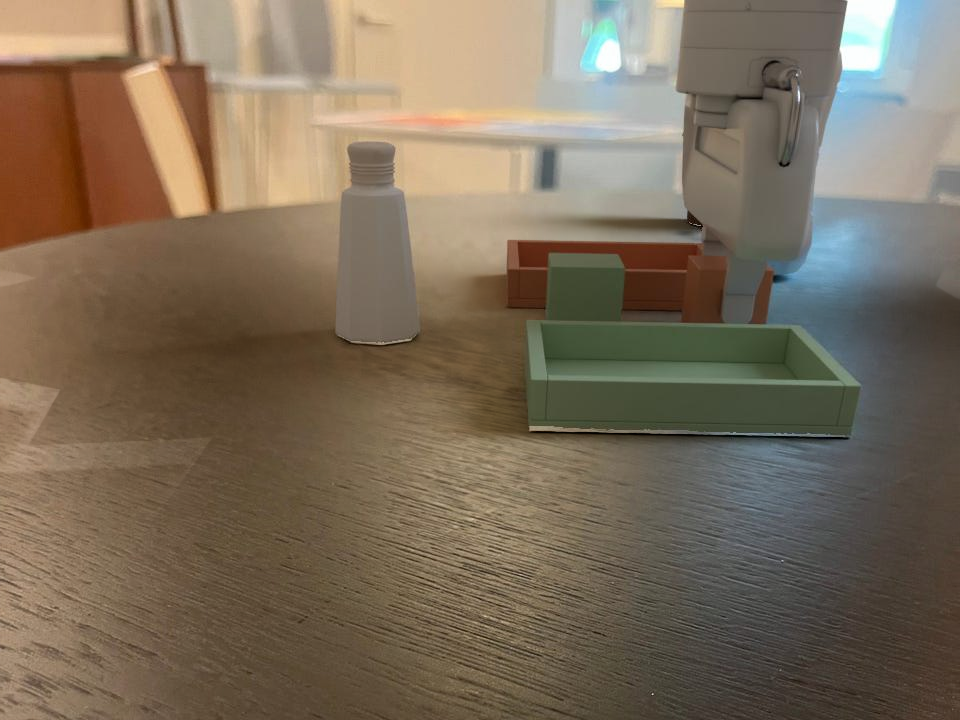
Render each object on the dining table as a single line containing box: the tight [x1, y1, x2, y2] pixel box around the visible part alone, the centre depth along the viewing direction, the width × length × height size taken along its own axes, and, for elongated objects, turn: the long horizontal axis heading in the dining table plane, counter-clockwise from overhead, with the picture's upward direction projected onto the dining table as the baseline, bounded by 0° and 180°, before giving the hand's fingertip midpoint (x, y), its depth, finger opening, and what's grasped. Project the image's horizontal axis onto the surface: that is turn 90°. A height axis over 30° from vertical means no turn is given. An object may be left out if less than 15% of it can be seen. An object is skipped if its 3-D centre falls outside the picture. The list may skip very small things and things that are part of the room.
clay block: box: [680, 255, 774, 324], centre depth 65 cm, size 4×4×4 cm
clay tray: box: [506, 239, 702, 312], centre depth 76 cm, size 16×12×3 cm
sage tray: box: [524, 319, 862, 437], centre depth 54 cm, size 16×12×3 cm
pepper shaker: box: [334, 140, 421, 343], centre depth 62 cm, size 5×5×11 cm
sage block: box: [544, 253, 625, 322], centre depth 65 cm, size 4×4×4 cm
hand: (723, 309), depth 65 cm, fingers open, 5 cm apart
